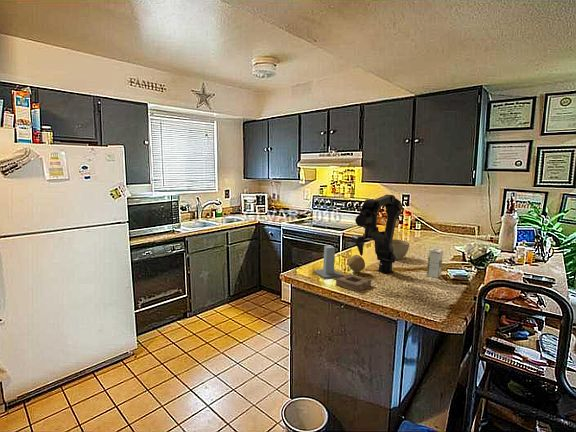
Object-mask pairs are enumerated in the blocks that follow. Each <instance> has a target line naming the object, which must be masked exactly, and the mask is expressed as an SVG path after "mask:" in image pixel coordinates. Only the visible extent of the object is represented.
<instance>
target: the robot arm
mask: <svg viewBox="0 0 576 432" xmlns="http://www.w3.org/2000/svg"><path fill="white" fill-rule="evenodd" d="M382 207H385V214H386V215H387V216H386V217H387V218H386V224H385V228H384V231H379V226H378V216H379V215H380V214H379V213H380V212H379V211H380V210H381V209H382ZM403 208H404V207H403V204H402V202H401V200H399V199H398V198H397V197H396V196H395V195H394V194H384V195H383V196H380V197H378V198H367V199H365V200H364V202H363V204H362V207H361V208H360V211H359V214H358V215H357V216H356V218H355V224H356V225H357V226H358V227H362V228H363V229H364V233H363V234H362V235H359V234H356V235H355V234H354V235H352V236H351V242H353V244H355V245H356V247H357V250H358V253H359V254H360V255H359V256H361V257H362V256H363V254H364V245H365V244H366V243H365V241H373V242H374V252H375V255H376V259H377V261H379V264H378V268H377V271H378V272H380V273H382V274H392V273H393V274H394V272H395V271H393V264H394V263H396V261H397V260H396V257H395V255H394V253H393V251H394V249H393V246H392V240H393V238H394V234H395V227H396V225H397V224H396V222H397V219H398V218H399V217H400V216H401V213H402V211H403Z"/></svg>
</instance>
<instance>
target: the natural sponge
mask: <svg viewBox="0 0 576 432" xmlns="http://www.w3.org/2000/svg"><path fill="white" fill-rule="evenodd" d="M347 265H348V267H349V268H350V270H352V272H353V273H355V274H359V273H360V272H361V271H363V270H364V269H365V267H366V263H365V259H364V258H363V257H362V256H361V255H359V254H353V255H352V256H350V258H349V260H348V261H347Z"/></svg>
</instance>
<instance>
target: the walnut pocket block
mask: <svg viewBox="0 0 576 432" xmlns="http://www.w3.org/2000/svg"><path fill="white" fill-rule="evenodd" d="M335 279H336V281H335V286H338V287H341V288H345V289H348V290H350V291H354V292H357V293H358V292H360V291H362V290H364V289H367V288H369V287H371V286H372V279H370V278H366V277H363V276H358V275H355V274H351V273H349V274H346V275H344V276H343V277H337V278H335Z"/></svg>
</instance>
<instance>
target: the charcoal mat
mask: <svg viewBox="0 0 576 432" xmlns="http://www.w3.org/2000/svg"><path fill="white" fill-rule="evenodd" d="M312 272H313V274H315V275H317V276H318V277H320V278H322V279H323V280H326V279H327V280H328V279H338V278H341V277H343V276H345V274H343V273H342V272H340V271H338V270H336V269H334V274H325V273H324V272H323V269H316V270H313V271H312Z"/></svg>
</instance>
